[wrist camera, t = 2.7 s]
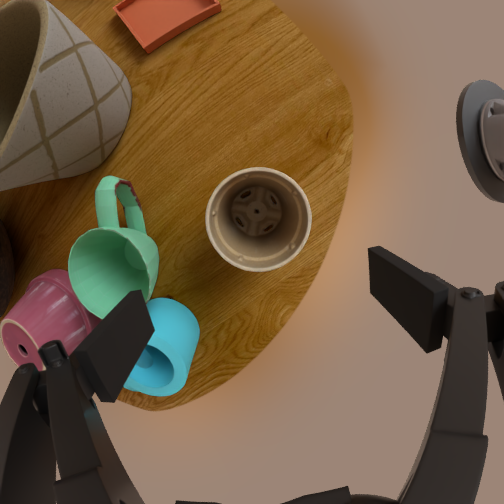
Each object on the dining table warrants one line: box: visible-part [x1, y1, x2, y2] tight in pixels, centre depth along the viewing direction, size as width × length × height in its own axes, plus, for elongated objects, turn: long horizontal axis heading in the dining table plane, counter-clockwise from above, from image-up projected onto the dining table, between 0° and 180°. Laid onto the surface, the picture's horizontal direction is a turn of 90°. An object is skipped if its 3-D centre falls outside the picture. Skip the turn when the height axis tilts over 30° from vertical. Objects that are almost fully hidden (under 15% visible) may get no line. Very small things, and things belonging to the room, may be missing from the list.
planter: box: [0, 0, 132, 191], centre depth 20 cm, size 19×19×20 cm
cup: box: [123, 298, 200, 396], centre depth 33 cm, size 12×10×9 cm
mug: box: [68, 176, 159, 319], centre depth 29 cm, size 15×10×10 cm
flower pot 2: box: [205, 167, 312, 272], centre depth 29 cm, size 9×9×9 cm
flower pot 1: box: [0, 269, 101, 371], centre depth 31 cm, size 14×14×13 cm
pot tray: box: [113, 0, 221, 54], centre depth 25 cm, size 11×11×2 cm
